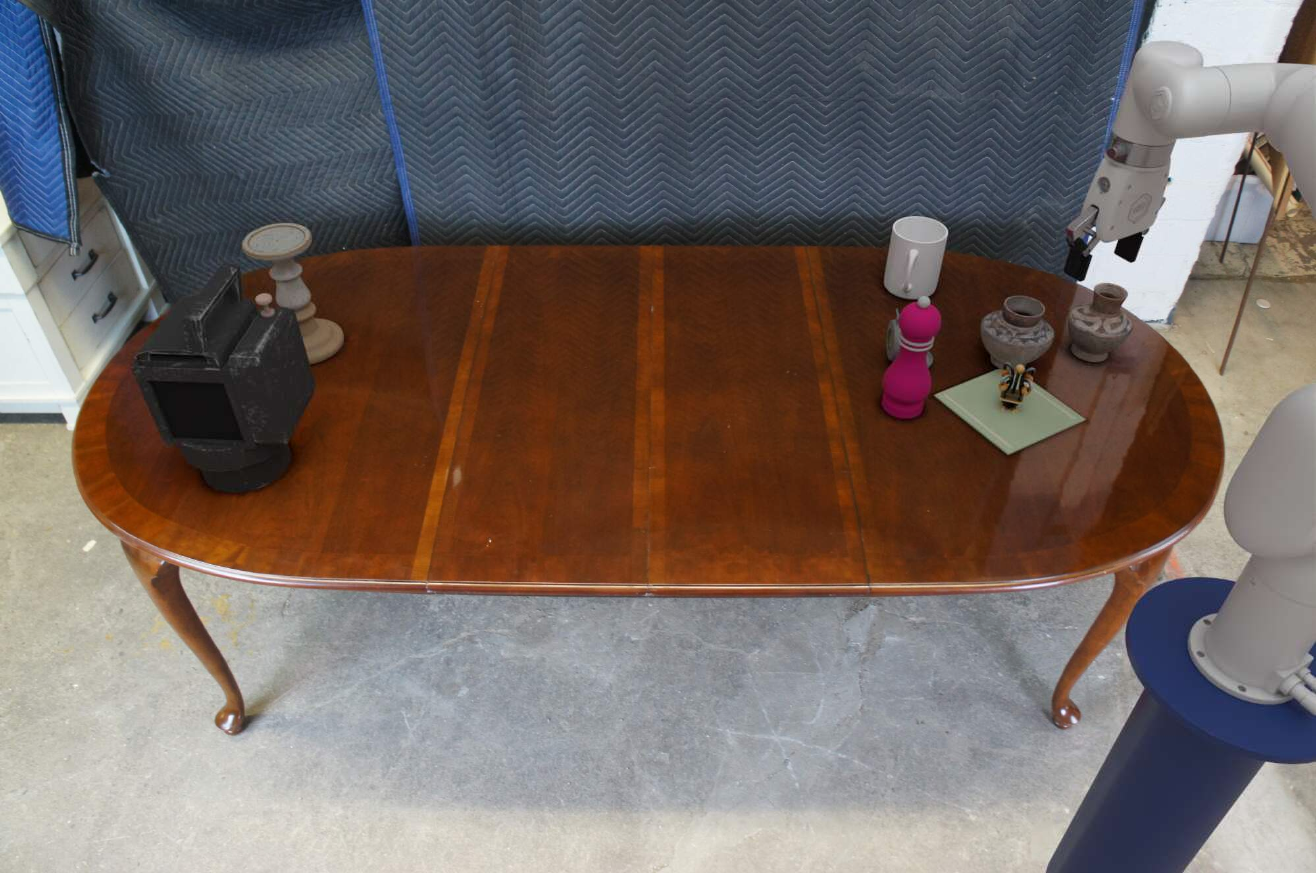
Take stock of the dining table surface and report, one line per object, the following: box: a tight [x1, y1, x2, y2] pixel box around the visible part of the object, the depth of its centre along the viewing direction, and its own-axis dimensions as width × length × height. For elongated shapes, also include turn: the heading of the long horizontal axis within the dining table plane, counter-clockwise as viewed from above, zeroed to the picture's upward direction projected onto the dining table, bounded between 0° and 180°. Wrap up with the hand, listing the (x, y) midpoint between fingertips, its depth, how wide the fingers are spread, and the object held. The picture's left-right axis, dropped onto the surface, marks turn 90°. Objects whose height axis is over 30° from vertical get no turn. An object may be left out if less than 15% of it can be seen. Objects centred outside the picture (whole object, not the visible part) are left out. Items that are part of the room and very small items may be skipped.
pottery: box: [979, 282, 1134, 371], centre depth 158 cm, size 11×25×12 cm, turn 101°
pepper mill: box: [881, 296, 942, 420], centre depth 146 cm, size 7×7×20 cm
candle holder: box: [241, 222, 345, 366], centre depth 158 cm, size 12×12×20 cm
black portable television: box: [130, 262, 317, 494], centre depth 133 cm, size 15×18×30 cm
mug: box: [883, 215, 949, 301], centre depth 174 cm, size 10×12×12 cm
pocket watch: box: [885, 308, 934, 369], centre depth 158 cm, size 8×8×10 cm
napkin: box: [933, 368, 1086, 456], centre depth 152 cm, size 16×16×1 cm
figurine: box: [998, 363, 1036, 413], centre depth 149 cm, size 5×5×8 cm
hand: (1099, 267), depth 134 cm, fingers open, 9 cm apart
